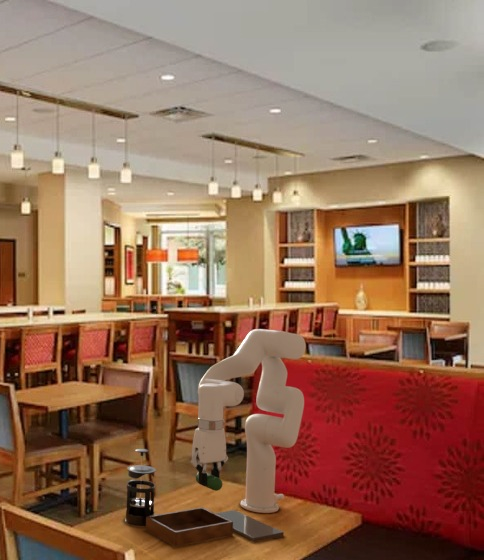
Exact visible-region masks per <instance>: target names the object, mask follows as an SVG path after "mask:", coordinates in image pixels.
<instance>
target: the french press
mask: <svg viewBox="0 0 484 560" xmlns="http://www.w3.org/2000/svg"><path fill="white" fill-rule="evenodd" d="M149 452H150V450H148V449H147V448H137V449H135V453H139V454H140V457H141V458H140V464H137V465H136V464H135V465H129V466H127V468H126V470H127V471H128V477H129V478H131V479H129V480H128V481H127V483H126V510H125V519H124V521H125V523H127V524H128V525H130V526H136V527H146V517H147V516H153V515H155V491H156V484H155V482H152V481H149V480H142V479H143V476H145V475H151V476H152V477H153V478H155V473H156V472H157V469H156V468H155V467H152V466H149V465H143V457H144V455H145V453H149ZM139 478H140V480H139ZM136 479H137V480H136ZM138 485H139V487H138ZM143 486H148V487H149V488H148V487H147V488H142V487H143ZM137 493H138V494H139V497H137ZM142 494H144V497H142Z"/></svg>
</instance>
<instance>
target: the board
mask: <svg viewBox="0 0 484 560" xmlns="http://www.w3.org/2000/svg"><path fill="white" fill-rule="evenodd" d="M214 513H215V514H217V515H220V516H222V517H224V518H226V519H228V520H230V521H232V522H233V533H235V534H237V535H238V536H239V535H240V536H242V537H244V538H245V539H247V540H250V541H251V542H254V543H255V542H259V541H263V540H269V539H272V540H275V539H281V538H284V536H285V535H284V531H282V530H280V529H278V528H275V527H274V526H272V525H269V524H266V523H264V522H262V521H260V520H258V519H255V518H253V517H251V516H249V515H247V514H244V513H242V512H240V511H238V510H236V509H232V510H227V511H221V512H214Z"/></svg>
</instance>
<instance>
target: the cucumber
mask: <svg viewBox="0 0 484 560" xmlns="http://www.w3.org/2000/svg"><path fill="white" fill-rule="evenodd" d="M205 473H207V486H204V487H205V488H207V489H210V490H211V491H215V492H216V491H220V490H221V489H222V488H223V481H222V479H221V478H220V477H219V478H218V477H216V476H213V475H211V473H208V472H207V471H206V472H205ZM195 481H196V482H197V483H198V484H199V471H197V473H196V475H195Z"/></svg>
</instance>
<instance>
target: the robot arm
mask: <svg viewBox="0 0 484 560" xmlns="http://www.w3.org/2000/svg"><path fill="white" fill-rule="evenodd" d="M306 347H307V344H306V341H305V338H304V337H303V336H302V335H301V334H299V333H293V332H288V331H283V330H276V329H265V328H255V329H252V330H250V331H249V332H248V333H247V334H246V336H245V337H244V339H243V340H242V342H241V343H240V345H239V346H238V348H237V349H236V351H234V353H233V355H231V356H228V357H226V358H224V359H222V360H220V361H219V362H216V363H215V364H213V365H211V366H210V367H209V368H208V369H207V370H206V372H205V374H204V375H203V376H202V378H201V379H200V381H199V383H198V387H197V395H198V406H197V407H198V409H197V411H198V412H197V428H195V430H194V434H193V439H192V447H191V460H189V461H190V462H189V464H190V465H191V466H193V467H194V468H195V469H196V471H197V472H199V483H198V484H199V485H200V486H203V487H205V486H207V473H208V472H207V466H208V464H211V465H212V468H211V470H210V474H211V475H213V476H216V477H218V478H220V472H221V471H222V468H223V466H224V465H225V463H227V461H228V460H229V456H228V455H227V438H226V431H225V428H224V424H226V420H225V419H224V407H235V406H238V405H240V404H241V402H243V400H244V396H245V391H244V388H243V386H242V385H240V384H239V383H237V382H234V381H230V380H231V379H236V378H241V377H246V376H248V375H251V374H253V373H255V372H256V371H257V369H258V367H259V366H260V364H261V375H260V380H259V384H258V388H257V393H256V397H255V398H256V399H255V401H256V402H255V403H256V407H257V408H258V409H259V410H262V411H265V412H267V413H268V412H269V413H274V414H278V415H279V414H280V415H283V417H280V416H274V415H271V414H270V415H269V414H264V413H253V414H250V415H249V416H248V417H247V418H246V420H245V423H244V432H245V439H246V473H245V497H244V498H243V499H241V501H240V506H241V508H242V509H245V510H247V511H249V512H254V513H260V514H270V513H276V512H278V511H279V509H280V506H279V504H278V503H277V502H278V501H282V500H285V494H283V493H278V494H277V493H276V492H275V491H276V489H275V487H276V463H277V457H276V453H275V450H274V448H273V446H275V447H281V448H287V449H289V448H292V447H294V446H295V444H296V443H297V440H298V437H299V432H300V428H301V423H302V418H303V414H304V410H305V409H304V408H305V396H304V393H303V391H302V390H301V389H299V388H297V387H294V386H288V385H287V379H288V369H287V367H286V365H285V363H284V361H283V359H289V360H299V359H301V358H302V357H303V356H304V355H305V353H306ZM205 472H206V473H205Z"/></svg>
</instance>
